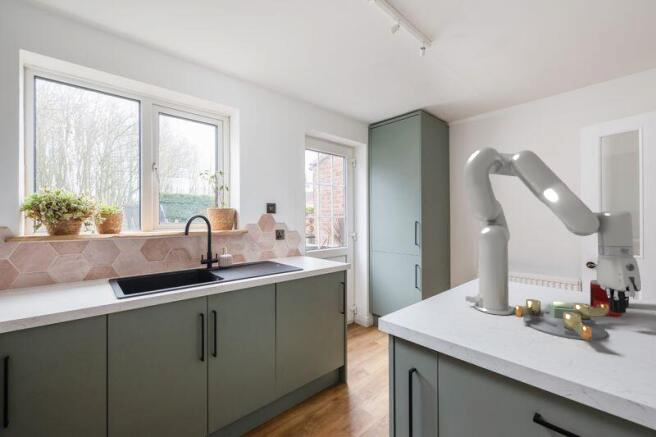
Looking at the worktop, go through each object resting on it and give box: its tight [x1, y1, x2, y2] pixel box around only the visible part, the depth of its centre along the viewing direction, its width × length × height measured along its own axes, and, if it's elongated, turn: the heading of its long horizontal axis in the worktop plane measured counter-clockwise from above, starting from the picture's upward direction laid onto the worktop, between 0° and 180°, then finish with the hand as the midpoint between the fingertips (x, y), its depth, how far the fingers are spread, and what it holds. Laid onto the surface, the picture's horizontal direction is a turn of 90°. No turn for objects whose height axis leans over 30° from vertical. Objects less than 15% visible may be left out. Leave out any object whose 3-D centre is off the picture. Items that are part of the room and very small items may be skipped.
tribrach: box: [522, 301, 607, 341], centre depth 89 cm, size 20×20×8 cm
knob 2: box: [573, 302, 608, 320], centre depth 91 cm, size 12×4×4 cm, turn 99°
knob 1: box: [515, 298, 542, 318], centre depth 93 cm, size 12×4×4 cm, turn 119°
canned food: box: [589, 279, 623, 318], centre depth 100 cm, size 8×8×11 cm
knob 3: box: [563, 312, 593, 341], centre depth 79 cm, size 12×4×4 cm, turn 159°
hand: (617, 311), depth 86 cm, fingers closed
